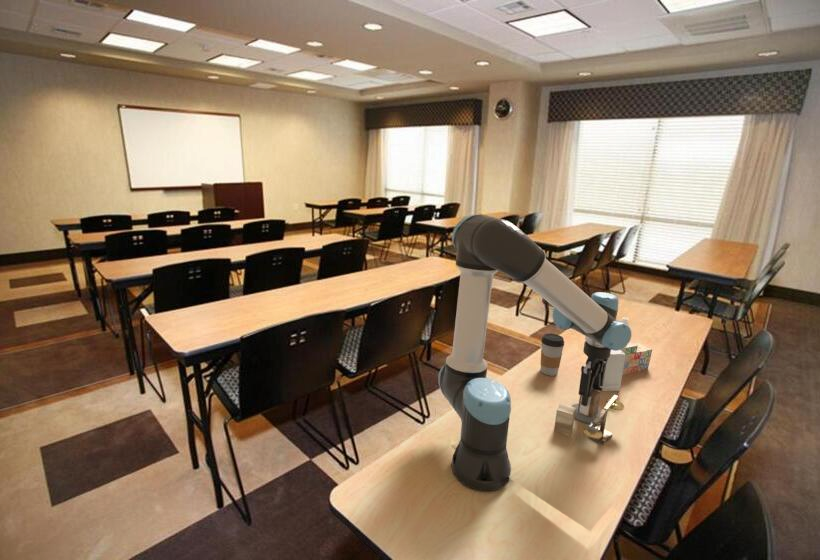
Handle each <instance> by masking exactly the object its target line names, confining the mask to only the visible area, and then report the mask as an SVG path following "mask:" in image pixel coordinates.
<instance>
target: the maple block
mask: <svg viewBox="0 0 820 560" xmlns="http://www.w3.org/2000/svg"><path fill="white" fill-rule="evenodd" d="M575 412H576V408H575V407H572V405H568V404H565V403H562V402H560V403H559V405H558V407H557V409H556V413H555V418H554V419H555V420H554V427H553V430H554V431H556V432H557V433H560V434H563V435H567V436H569V437H570V436H571V433H572V431H573V429H574V423H575Z"/></svg>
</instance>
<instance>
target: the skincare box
mask: <svg viewBox="0 0 820 560" xmlns="http://www.w3.org/2000/svg"><path fill="white" fill-rule="evenodd" d="M625 356H626V354H625V353H623V352H622V351H621V350H617V351H615V350H611V353H610V357H609V358H608V360H607V364H606V369H605V375H604V381H603V386H602V387H601V386H600V388H603V389H602V391H601V392H620V391H621V387H622V386H621V385H622V384H621V383H622V379H623V375H622V374H623V368H624V362H625ZM598 391H599V390H598ZM599 392H600V391H599Z"/></svg>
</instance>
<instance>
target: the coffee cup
mask: <svg viewBox="0 0 820 560" xmlns="http://www.w3.org/2000/svg"><path fill="white" fill-rule="evenodd" d="M540 342H541V350H540V372H541V373H542V374H543V375H546V376H551V377H552V376H553V377H554V376H557V375H558V373H559V368H560V365H561V360H562V356H563V349H564V346H565V341H564V337H563V336H561V335H559V334H555V333H545V334H543V336H542V338H541V341H540Z"/></svg>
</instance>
